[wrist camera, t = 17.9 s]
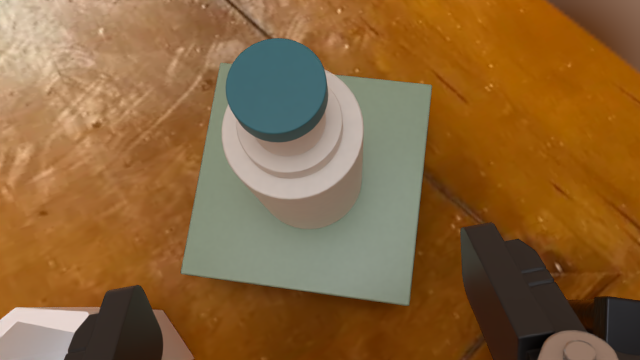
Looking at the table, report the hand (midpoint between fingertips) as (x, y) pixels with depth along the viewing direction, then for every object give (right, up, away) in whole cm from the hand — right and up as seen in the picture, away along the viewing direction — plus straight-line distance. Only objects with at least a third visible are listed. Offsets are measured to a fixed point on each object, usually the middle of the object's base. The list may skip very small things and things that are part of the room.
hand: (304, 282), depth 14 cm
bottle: (0, +3, +16) cm, 16 cm away
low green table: (0, +2, +21) cm, 21 cm away
